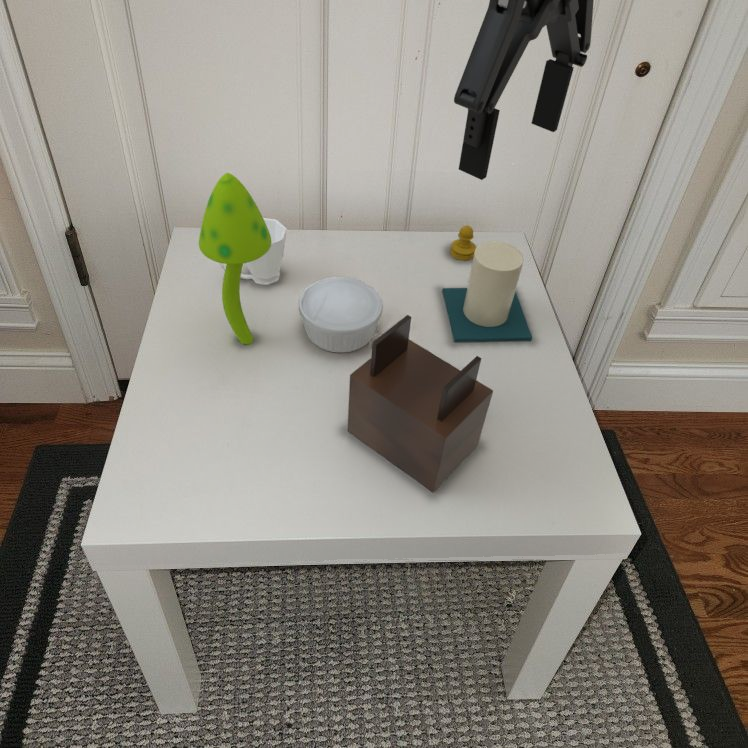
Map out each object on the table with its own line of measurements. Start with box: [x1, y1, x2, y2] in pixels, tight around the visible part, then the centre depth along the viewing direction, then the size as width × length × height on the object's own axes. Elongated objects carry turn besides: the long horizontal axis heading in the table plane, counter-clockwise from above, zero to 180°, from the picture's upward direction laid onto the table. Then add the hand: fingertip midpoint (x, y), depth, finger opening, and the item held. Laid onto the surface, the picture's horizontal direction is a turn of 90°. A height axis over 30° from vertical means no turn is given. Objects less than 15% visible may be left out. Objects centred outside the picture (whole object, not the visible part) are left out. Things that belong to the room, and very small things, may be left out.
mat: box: [441, 287, 533, 343], centre depth 95 cm, size 11×11×1 cm
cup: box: [219, 217, 288, 286], centre depth 95 cm, size 7×10×8 cm
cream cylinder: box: [463, 240, 525, 327], centre depth 91 cm, size 7×7×10 cm
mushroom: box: [198, 172, 271, 345], centre depth 80 cm, size 8×8×25 cm
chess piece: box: [449, 225, 477, 262], centre depth 104 cm, size 4×4×5 cm
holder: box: [347, 314, 494, 493], centre depth 74 cm, size 13×9×15 cm
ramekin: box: [297, 276, 384, 354], centre depth 89 cm, size 11×11×5 cm
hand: (510, 149), depth 66 cm, fingers open, 13 cm apart
